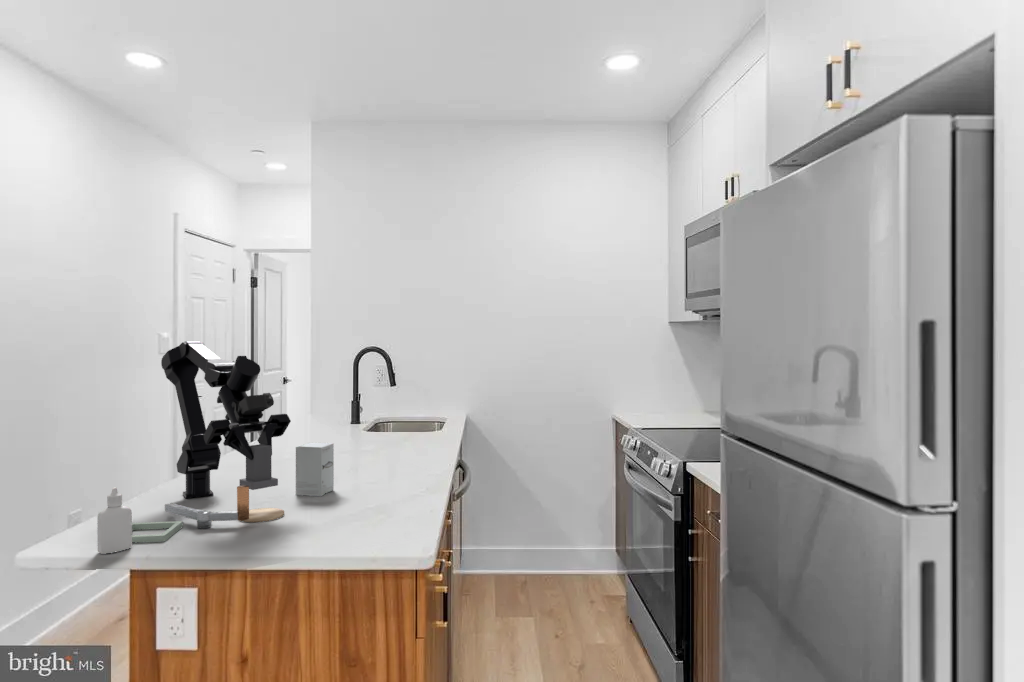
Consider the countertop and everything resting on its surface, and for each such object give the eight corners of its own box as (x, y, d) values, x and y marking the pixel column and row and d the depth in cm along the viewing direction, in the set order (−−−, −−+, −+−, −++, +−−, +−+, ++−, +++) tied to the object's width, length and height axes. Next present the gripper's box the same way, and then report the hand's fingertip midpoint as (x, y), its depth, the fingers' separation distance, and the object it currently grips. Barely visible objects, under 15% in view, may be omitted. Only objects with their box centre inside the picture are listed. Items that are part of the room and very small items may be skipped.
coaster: (233, 514, 154) (233, 511, 154) (278, 508, 160) (278, 505, 160) (242, 524, 146) (242, 522, 146) (289, 518, 151) (289, 515, 151)
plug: (239, 486, 152) (239, 446, 152) (264, 481, 157) (264, 443, 157) (252, 490, 148) (252, 449, 148) (277, 485, 153) (277, 445, 153)
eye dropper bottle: (100, 549, 130) (99, 486, 129) (133, 545, 132) (132, 484, 132) (95, 555, 126) (95, 491, 125) (130, 552, 128) (129, 489, 128)
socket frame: (130, 528, 143) (130, 523, 143) (182, 526, 145) (182, 521, 145) (108, 543, 133) (108, 537, 133) (164, 541, 134) (164, 535, 134)
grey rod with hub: (251, 524, 145) (251, 486, 145) (218, 533, 139) (218, 493, 139) (194, 510, 157) (194, 475, 157) (162, 518, 151) (162, 481, 151)
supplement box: (321, 496, 171) (321, 447, 171) (294, 495, 173) (294, 446, 172) (334, 490, 178) (334, 442, 178) (309, 489, 180) (308, 441, 180)
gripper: (209, 384, 148) (233, 439, 141) (286, 379, 162) (312, 430, 155) (193, 417, 153) (216, 472, 146) (269, 410, 167) (293, 460, 160)
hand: (261, 457), depth 151 cm, fingers closed on plug, 4 cm apart
